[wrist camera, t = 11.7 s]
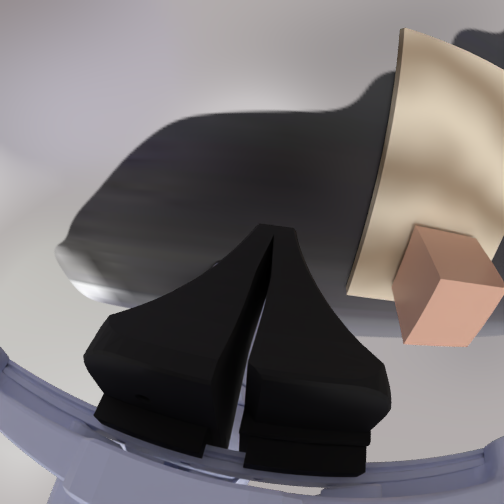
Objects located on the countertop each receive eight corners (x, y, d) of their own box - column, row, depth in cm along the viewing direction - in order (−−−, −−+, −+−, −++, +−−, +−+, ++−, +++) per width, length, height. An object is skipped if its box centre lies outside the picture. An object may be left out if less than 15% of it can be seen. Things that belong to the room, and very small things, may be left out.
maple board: (460, 301, 22) (464, 308, 22) (346, 286, 24) (346, 294, 23) (536, 93, 11) (544, 95, 10) (399, 29, 12) (404, 27, 11)
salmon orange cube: (448, 294, 21) (467, 346, 16) (391, 287, 21) (403, 344, 17) (476, 238, 17) (507, 288, 13) (415, 225, 18) (440, 278, 13)
